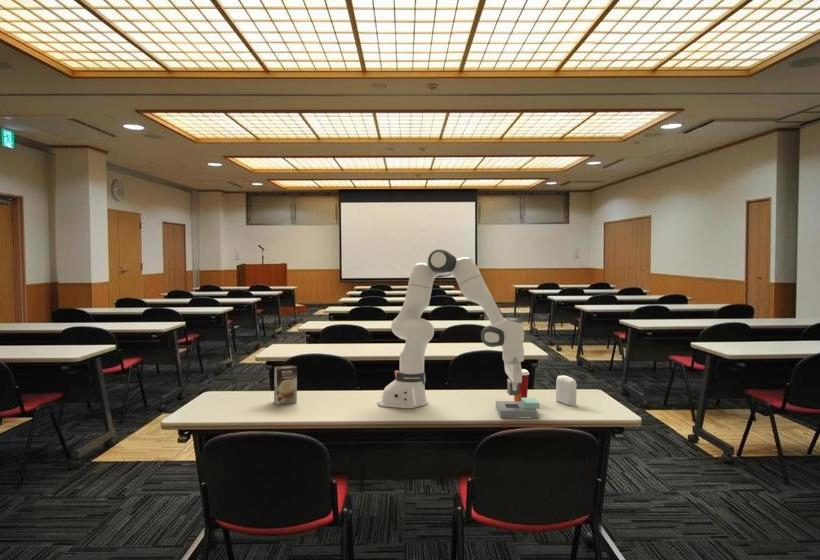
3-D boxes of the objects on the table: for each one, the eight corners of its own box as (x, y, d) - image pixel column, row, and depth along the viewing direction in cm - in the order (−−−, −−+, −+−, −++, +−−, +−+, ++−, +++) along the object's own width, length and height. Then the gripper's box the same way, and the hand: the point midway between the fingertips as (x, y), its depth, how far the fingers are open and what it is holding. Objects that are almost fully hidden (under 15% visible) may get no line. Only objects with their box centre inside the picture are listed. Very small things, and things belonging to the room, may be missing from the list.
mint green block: (524, 408, 206) (524, 402, 206) (521, 403, 214) (521, 397, 214) (539, 409, 206) (539, 403, 206) (535, 403, 214) (535, 397, 214)
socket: (500, 417, 204) (500, 410, 204) (495, 407, 218) (495, 401, 218) (537, 418, 203) (537, 411, 203) (530, 408, 217) (530, 401, 217)
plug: (509, 395, 209) (510, 381, 208) (507, 392, 213) (507, 378, 212) (519, 395, 209) (519, 381, 209) (516, 392, 213) (516, 378, 213)
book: (577, 405, 222) (578, 378, 222) (570, 406, 220) (570, 379, 220) (561, 399, 231) (562, 373, 231) (554, 400, 230) (554, 374, 229)
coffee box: (276, 405, 220) (276, 369, 219) (273, 401, 226) (273, 366, 225) (297, 402, 224) (297, 367, 223) (294, 399, 230) (294, 364, 229)
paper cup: (527, 398, 233) (528, 368, 232) (530, 403, 225) (530, 372, 225) (510, 398, 234) (511, 368, 233) (512, 402, 226) (513, 372, 226)
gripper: (525, 361, 200) (525, 395, 200) (516, 351, 220) (515, 382, 221) (510, 361, 200) (509, 395, 200) (501, 351, 220) (501, 382, 221)
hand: (513, 388), depth 211 cm, fingers closed on plug, 4 cm apart
